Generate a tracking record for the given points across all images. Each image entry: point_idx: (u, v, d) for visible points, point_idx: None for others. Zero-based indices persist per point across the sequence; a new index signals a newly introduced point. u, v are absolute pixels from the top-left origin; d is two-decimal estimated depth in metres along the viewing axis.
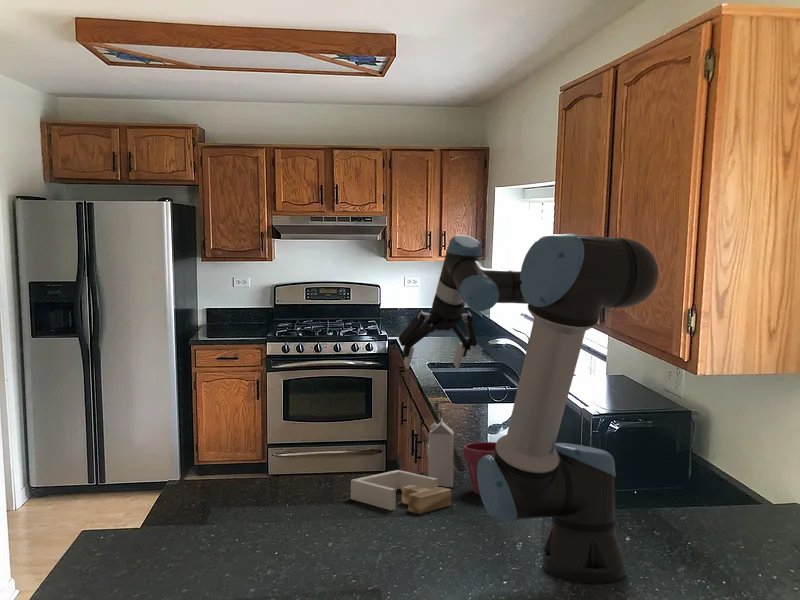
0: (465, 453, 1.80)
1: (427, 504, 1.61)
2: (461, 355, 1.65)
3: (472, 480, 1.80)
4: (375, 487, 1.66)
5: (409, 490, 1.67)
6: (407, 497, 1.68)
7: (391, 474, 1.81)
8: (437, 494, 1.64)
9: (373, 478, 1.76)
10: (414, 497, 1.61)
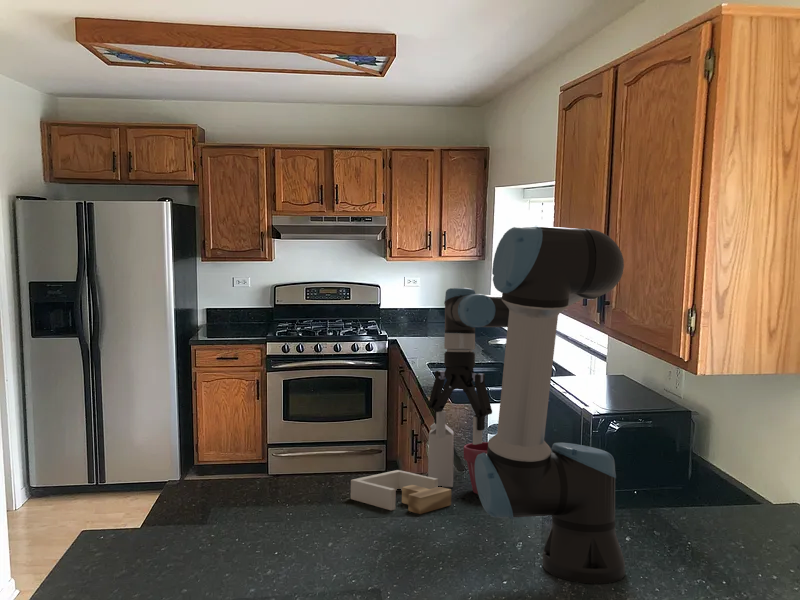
0: (465, 453, 1.80)
1: (427, 504, 1.61)
2: (474, 425, 1.55)
3: (472, 480, 1.80)
4: (375, 487, 1.66)
5: (409, 490, 1.67)
6: (407, 497, 1.68)
7: (391, 474, 1.81)
8: (437, 494, 1.64)
9: (373, 478, 1.76)
10: (414, 497, 1.61)
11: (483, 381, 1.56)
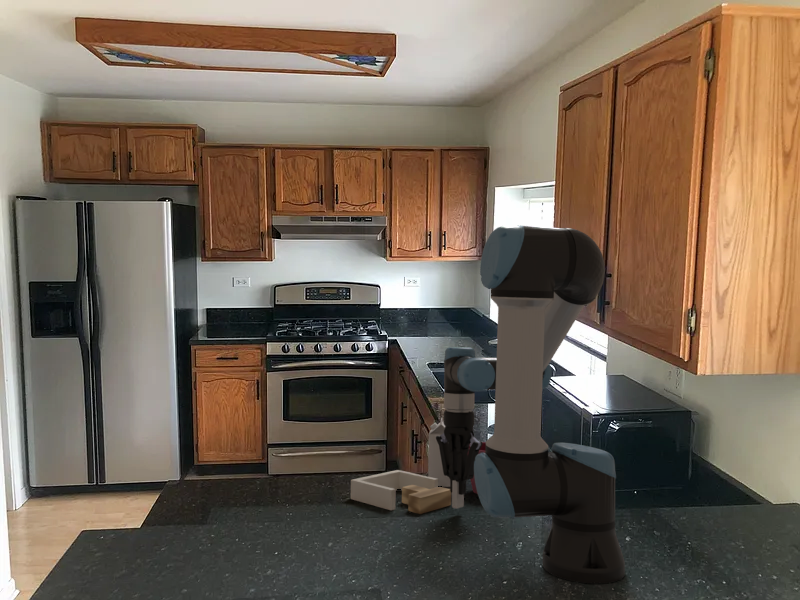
0: None
1: (427, 504, 1.61)
2: (455, 490, 1.58)
3: (472, 480, 1.80)
4: (375, 487, 1.66)
5: (409, 490, 1.67)
6: (407, 497, 1.68)
7: (391, 474, 1.81)
8: (437, 494, 1.64)
9: (373, 478, 1.76)
10: (414, 497, 1.61)
11: (478, 449, 1.56)
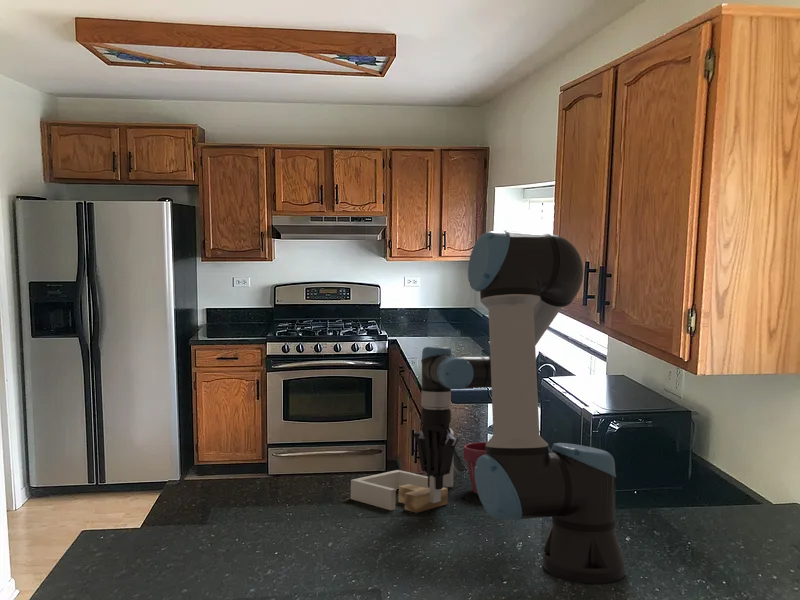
0: (465, 453, 1.80)
1: (424, 502, 1.62)
2: (432, 485, 1.63)
3: (472, 480, 1.80)
4: (375, 487, 1.66)
5: (406, 489, 1.68)
6: (403, 496, 1.68)
7: (391, 474, 1.81)
8: None
9: (373, 478, 1.76)
10: (410, 496, 1.61)
11: (454, 445, 1.61)
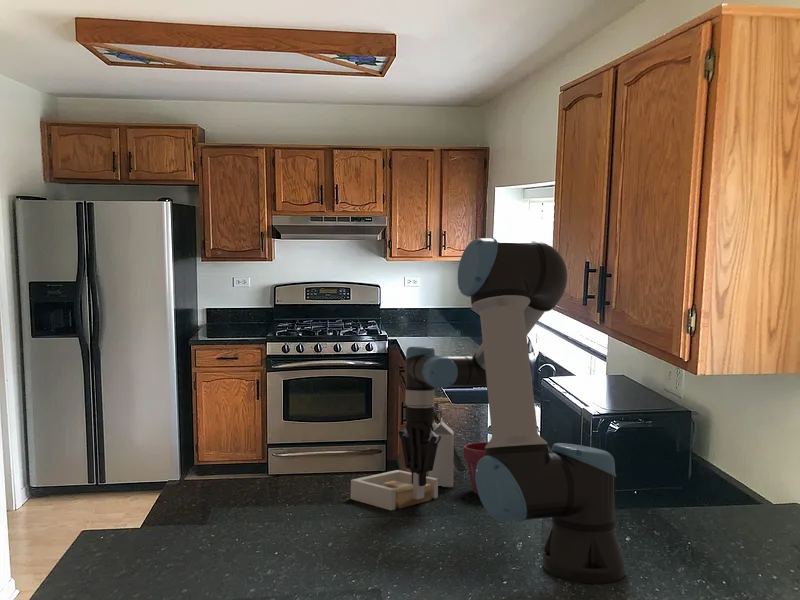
0: (465, 453, 1.80)
1: (407, 498, 1.66)
2: (416, 481, 1.67)
3: (472, 480, 1.80)
4: (375, 487, 1.66)
5: (390, 485, 1.72)
6: None
7: (391, 474, 1.81)
8: None
9: (373, 478, 1.76)
10: None
11: (437, 443, 1.65)
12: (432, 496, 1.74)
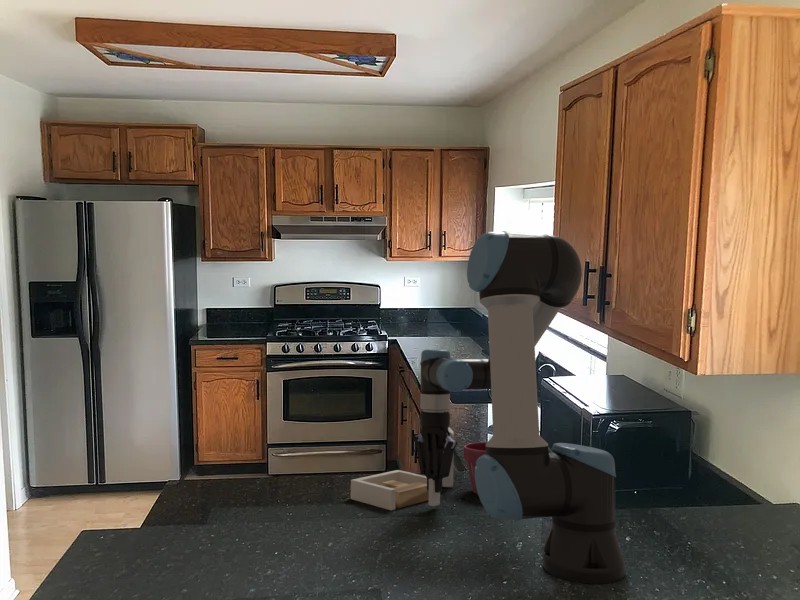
0: (465, 453, 1.80)
1: (406, 498, 1.66)
2: (432, 488, 1.62)
3: (472, 480, 1.80)
4: (375, 487, 1.66)
5: (389, 485, 1.72)
6: None
7: (391, 474, 1.81)
8: (416, 489, 1.69)
9: (373, 478, 1.76)
10: None
11: (453, 448, 1.61)
12: None
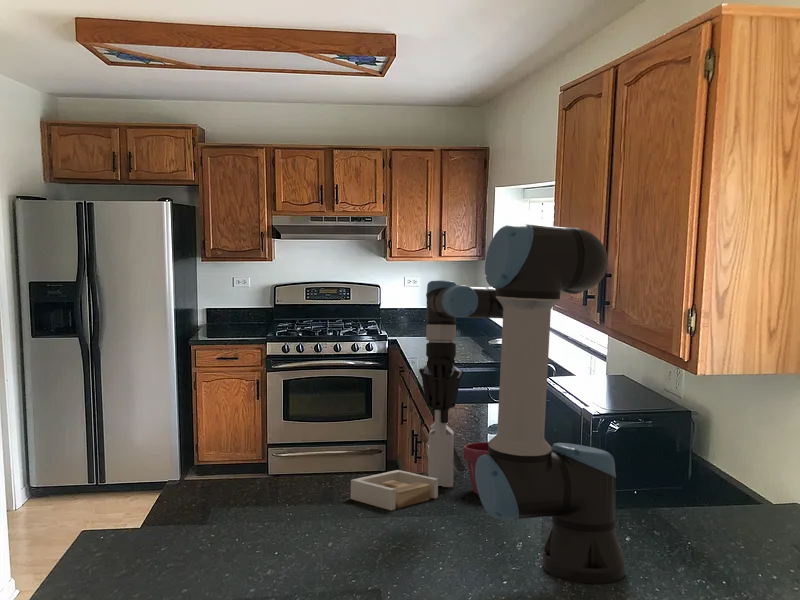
0: (465, 453, 1.80)
1: (406, 498, 1.66)
2: (438, 418, 1.62)
3: (472, 480, 1.80)
4: (375, 487, 1.66)
5: (389, 485, 1.72)
6: None
7: (391, 474, 1.81)
8: (416, 489, 1.69)
9: (373, 478, 1.76)
10: None
11: (459, 378, 1.61)
12: (432, 496, 1.74)
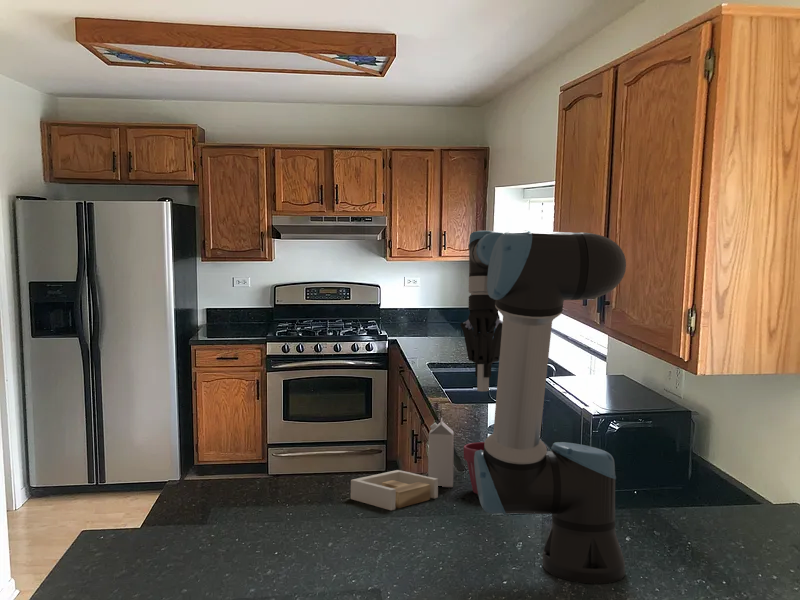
0: (465, 453, 1.80)
1: (406, 498, 1.66)
2: (481, 373, 1.58)
3: (472, 480, 1.80)
4: (375, 487, 1.66)
5: (389, 485, 1.72)
6: None
7: (391, 474, 1.81)
8: (416, 489, 1.69)
9: (373, 478, 1.76)
10: None
11: None
12: (432, 496, 1.74)
